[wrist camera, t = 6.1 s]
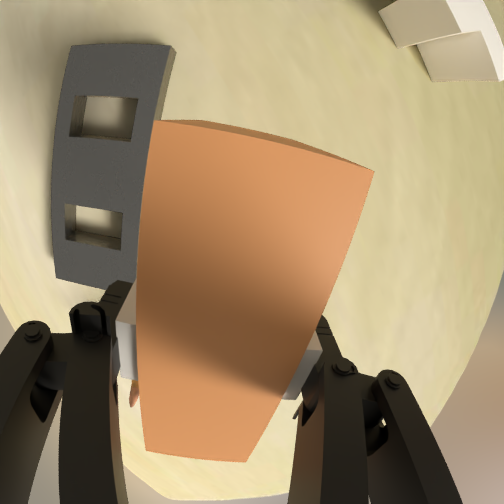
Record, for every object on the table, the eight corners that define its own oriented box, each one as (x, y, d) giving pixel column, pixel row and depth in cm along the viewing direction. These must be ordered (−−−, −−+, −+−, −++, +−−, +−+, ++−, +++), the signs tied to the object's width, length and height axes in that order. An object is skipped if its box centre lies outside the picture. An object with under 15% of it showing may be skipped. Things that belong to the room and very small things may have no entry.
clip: (200, 120, 14) (154, 120, 5) (291, 139, 15) (374, 171, 6) (170, 327, 20) (146, 450, 11) (238, 337, 21) (245, 462, 12)
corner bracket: (377, 11, 23) (434, -19, 12) (437, 4, 21) (494, -14, 10) (414, 87, 27) (482, 86, 16) (467, 71, 26) (530, 72, 15)
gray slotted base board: (83, 50, 23) (71, 45, 20) (176, 52, 25) (171, 45, 22) (65, 266, 34) (55, 277, 31) (141, 283, 36) (135, 296, 33)
